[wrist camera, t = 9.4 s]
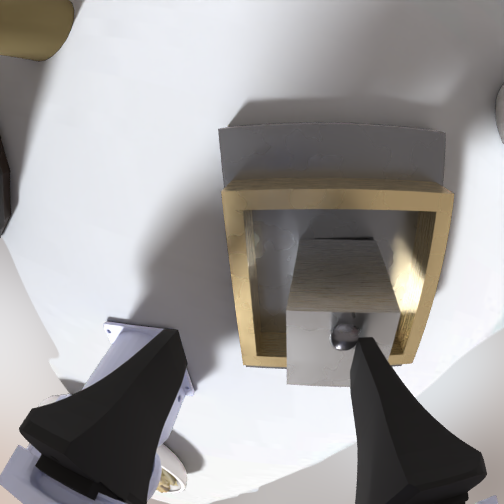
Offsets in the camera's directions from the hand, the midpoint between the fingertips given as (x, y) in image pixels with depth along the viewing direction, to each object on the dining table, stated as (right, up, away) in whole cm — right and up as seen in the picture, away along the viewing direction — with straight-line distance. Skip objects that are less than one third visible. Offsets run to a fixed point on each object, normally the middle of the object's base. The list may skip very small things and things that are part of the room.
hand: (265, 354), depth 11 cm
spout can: (+5, +3, +7) cm, 9 cm away
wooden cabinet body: (+5, +4, +9) cm, 11 cm away
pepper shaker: (-17, +22, +3) cm, 29 cm away
